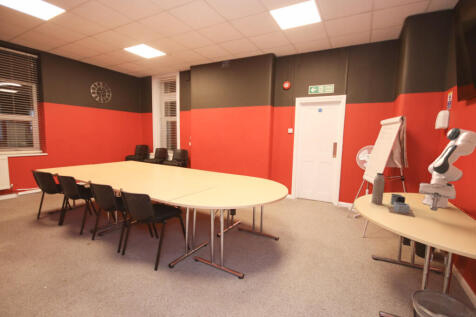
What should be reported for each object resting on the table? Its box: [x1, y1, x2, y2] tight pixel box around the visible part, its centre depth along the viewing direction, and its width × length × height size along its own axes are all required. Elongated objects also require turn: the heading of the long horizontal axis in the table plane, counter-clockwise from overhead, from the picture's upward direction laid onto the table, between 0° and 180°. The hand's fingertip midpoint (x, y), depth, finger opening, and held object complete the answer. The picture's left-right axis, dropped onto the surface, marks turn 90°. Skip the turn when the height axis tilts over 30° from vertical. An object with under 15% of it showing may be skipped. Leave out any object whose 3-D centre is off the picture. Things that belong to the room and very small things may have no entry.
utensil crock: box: [392, 202, 411, 214], centre depth 175 cm, size 10×10×6 cm
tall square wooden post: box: [429, 192, 439, 212], centre depth 163 cm, size 4×4×13 cm
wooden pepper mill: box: [371, 172, 386, 206], centre depth 194 cm, size 8×8×28 cm
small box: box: [390, 193, 406, 207], centre depth 190 cm, size 11×6×10 cm, turn 168°
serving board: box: [387, 205, 416, 218], centre depth 176 cm, size 20×16×2 cm
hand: (435, 200), depth 163 cm, fingers closed on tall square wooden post, 2 cm apart
